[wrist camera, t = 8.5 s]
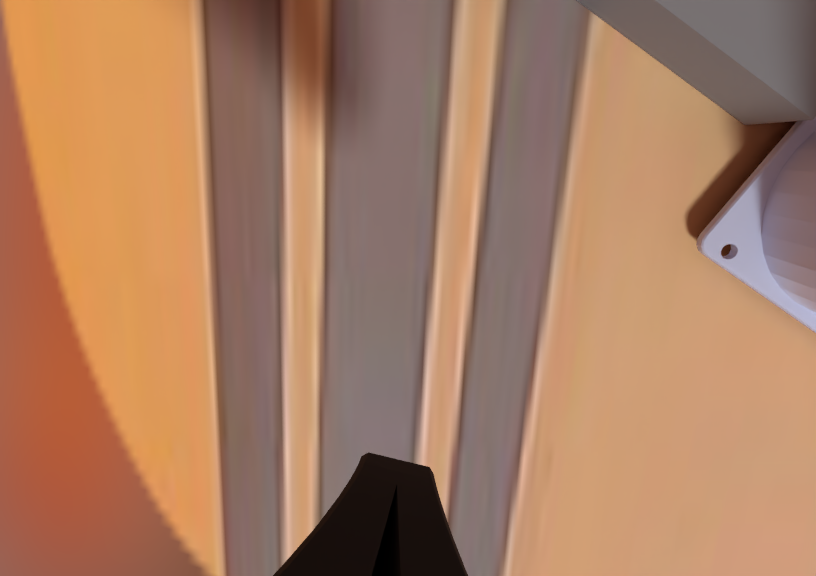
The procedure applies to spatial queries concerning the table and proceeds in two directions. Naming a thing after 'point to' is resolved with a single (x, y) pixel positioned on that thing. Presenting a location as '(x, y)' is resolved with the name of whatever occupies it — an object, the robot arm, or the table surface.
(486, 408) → the table surface
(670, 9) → the bench plate
